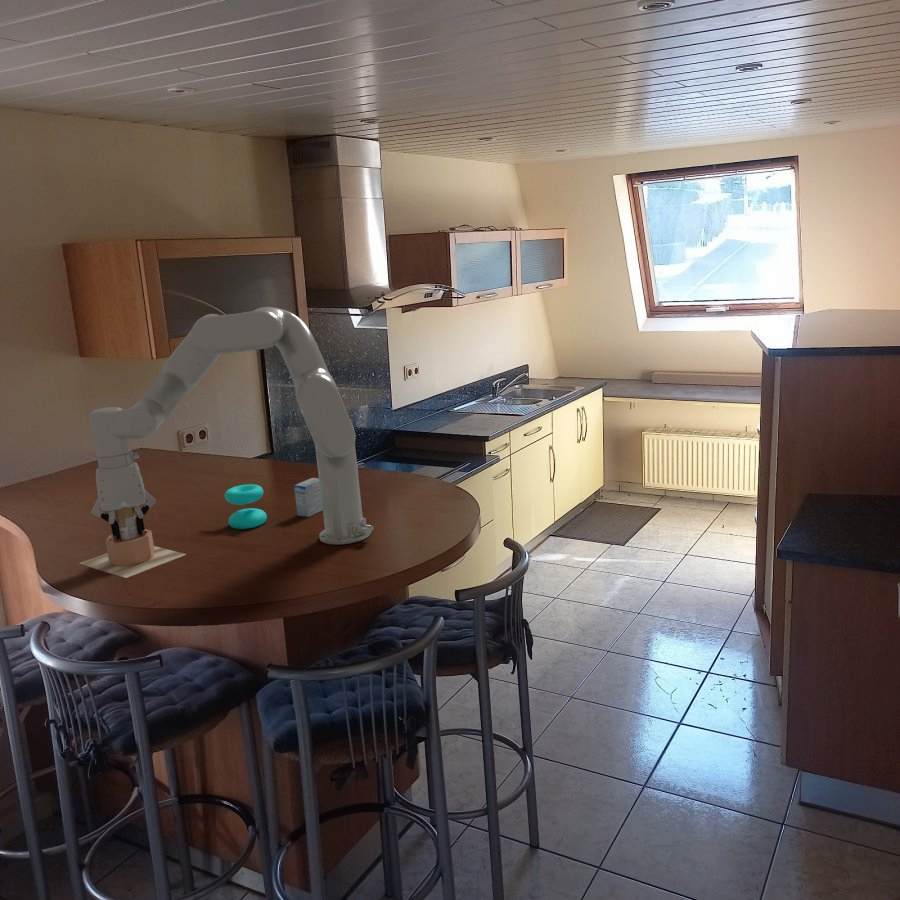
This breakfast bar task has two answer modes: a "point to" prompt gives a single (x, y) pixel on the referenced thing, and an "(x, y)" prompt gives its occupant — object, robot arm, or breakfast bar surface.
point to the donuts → (245, 516)
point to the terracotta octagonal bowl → (130, 549)
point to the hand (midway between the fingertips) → (129, 535)
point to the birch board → (127, 571)
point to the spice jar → (127, 523)
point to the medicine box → (308, 497)
